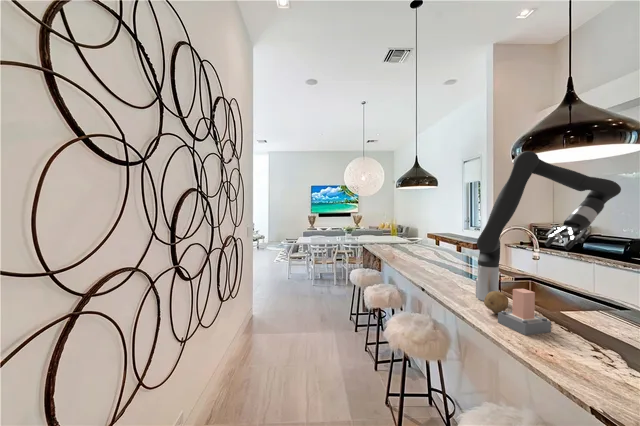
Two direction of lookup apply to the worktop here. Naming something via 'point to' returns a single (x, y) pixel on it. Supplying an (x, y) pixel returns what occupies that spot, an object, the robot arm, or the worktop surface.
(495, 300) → the brown round lump
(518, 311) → the coral brick
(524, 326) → the base brick
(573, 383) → the worktop surface
